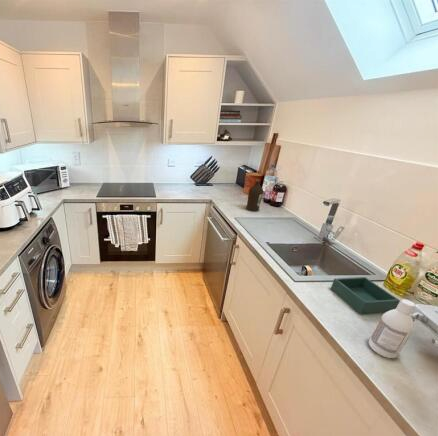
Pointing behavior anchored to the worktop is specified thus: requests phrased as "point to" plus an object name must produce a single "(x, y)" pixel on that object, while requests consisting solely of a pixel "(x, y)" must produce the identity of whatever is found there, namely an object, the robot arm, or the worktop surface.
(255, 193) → the olive oil
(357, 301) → the tray
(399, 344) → the bath foam
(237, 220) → the worktop surface
